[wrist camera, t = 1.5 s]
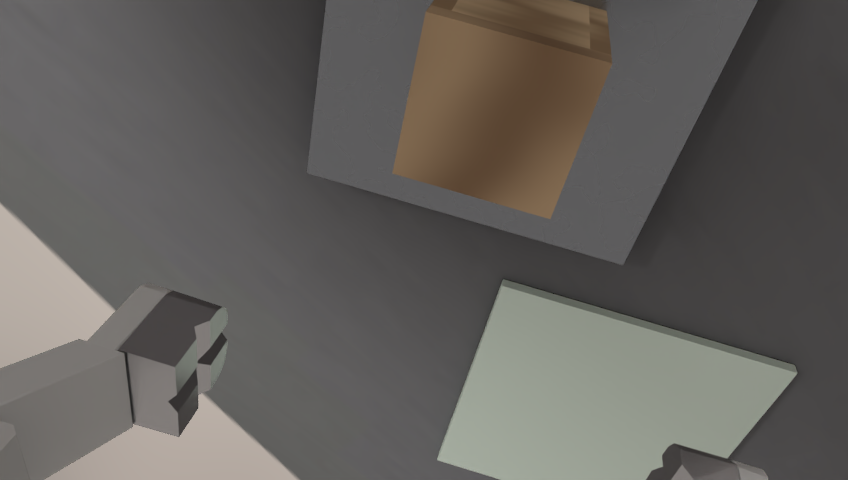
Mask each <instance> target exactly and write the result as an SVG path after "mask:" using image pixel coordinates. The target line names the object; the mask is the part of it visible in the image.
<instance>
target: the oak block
mask: <svg viewBox="0 0 848 480" xmlns="http://www.w3.org/2000/svg"><path fill="white" fill-rule="evenodd" d="M611 66H612V55H611V46H610V36H609V27H608V17H607V11H605V10H602V9H598V8H595V7H591V6H587V5H584V4H580V3H576V2H573V1H569V0H434V1H433V2H432V4H431V5H430V6H429V8H428V9H427V10H426V13H425V18H424V22H423V27H422V32H421V37H420V42H419V47H418V51H417V56H416V61H415V66H414V71H413V76H412V80H411V85H410V90H409V95H408V100H407V105H406V110H405V114H404V119H403V124H402V129H401V134H400V139H399V143H398V148H397V153H396V158H395V163H394V168H393V172H392V173H393V174H396V175H400V176H403V177H406V178H410V179H413V180H417V181H420V182H424V183H427V184H431V185H434V186H438V187H441V188H444V189H448V190H451V191H455V192H458V193H462V194H465V195H469V196H472V197H475V198H479V199H482V200H486V201H489V202H493V203H496V204H500V205H503V206H506V207H510V208H513V209H517V210H520V211H524V212H527V213H531V214H534V215H537V216H541V217H544V218H548V219H551V216H552V214H553V211H554V209H555V206H556V204H557V201H558V199H559V196H560V194H561V191H562V189H563V186H564V184H565V181H566V179H567V176H568V173H569V171H570V168H571V166H572V163H573V161H574V158H575V156H576V153H577V151H578V148H579V146H580V143H581V141H582V138H583V136H584V133H585V131H586V128H587V126H588V123H589V121H590V118H591V116H592V113H593V111H594V108H595V106H596V103H597V101H598V98H599V96H600V93H601V91H602V88H603V86H604V83H605V81H606V78H607V76H608V73H609V71H610V68H611Z"/></svg>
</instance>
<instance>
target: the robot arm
mask: <svg viewBox="0 0 848 480" xmlns="http://www.w3.org/2000/svg"><path fill="white" fill-rule="evenodd" d="M227 323H228V320H227V309H225V308H224V307H222V306H218V305H215V304H212V303H209V302H206V301H203V300H200V299H197V298H194V297H191V296H188V295H185V294H182V293H179V292H176V291H172V290H169V289H166V288H163V287H160V286H157V285H154V284H151V283H146V284H143V285H141V286H139V287H138V288H137V289H136V290H135V291H134V292H133V293H132V294H131V295H130V296H129V298H128V299H127V300H126V301H125V302H124V303H123V304H122V305H121V306H120V307H119V308H118V309H117V310H116V311H115V312H114V313H113V314H112V316H111V317H110V318H109V319H108V320H107V321H106V322H105V323H104V324H103V325H102V326H101V327H100V328H99V329H98V330H97V331H96V332H95V333H94V335H93V336H92V337H91V338H90V339H89V340H88V341H84V340H80V339H78V340H75V341H73V342H70V343H67V344H65V345H62V346H59V347H57V348H54V349H51V350H49V351H46V352H43V353H40V354H38V355H35V356H32V357H30V358H27V359H24V360H22V361H19V362H16V363H14V364H11V365H8V366H6V367H3V368H0V480H44V479H46V478H47V477H49V476H51V475H53V474H54V473H56V472H58V471H59V470H61V469H63V468H64V467H66V466H68V465H69V464H71V463H73V462H75V461H76V460H78V459H80V458H81V457H83V456H85V455H86V454H88V453H90V452H91V451H93V450H95V449H96V448H98V447H100V446H101V445H103V444H104V443H106V442H108V441H110V440H111V439H113V438H115V437H116V436H118V435H120V434H122V433H123V432H125V431H127V430H128V429H130V428H132V427H133V424H135V425H139V426H142V427H146V428H150V429H153V430H156V431H160V432H163V433H167V434H170V435H174V436H177V437H179V436H180V435H181V433H182V432H183V430H184V429H185V427H186V425H187V424H188V423H189V421H190V420H191V418H192V417H193V415H194V414H195V412H196V411H197V409H198V395H199V394H201V393H204V392H206V391H208V390H210V389H211V388H212V386H213V384H214V383H215V381H216V380H217V378H218V376H219V374H220V372H221V369H222V367H223V364H224V362H225V357H226V353H227V339H226V338H225V336H224V335H223V334H222V330H223V329H224V327H225V326H226V325H227ZM662 461H663V467H660V468H657V469H655V470H652V471H651V472H650V474H649V476H648V477H647V479H646V480H768V476H767V475H766V473H765V472H764V471H763V469H760V468H756V467H753V466H750V465H746V464H743V463H740V462H736V461H731V460H729V459H727V458H723V457H720V456H716V455H713V454H710V453H706V452H703V451H699V450H696V449H692V448H689V447H686V446H682V445H679V444H675V443H674V444H672V445H670V446H668V448H667V449H666V450H665V452H664V453H663V455H662Z"/></svg>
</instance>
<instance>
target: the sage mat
mask: <svg viewBox="0 0 848 480" xmlns="http://www.w3.org/2000/svg"><path fill="white" fill-rule="evenodd" d="M797 374H798V373H797V370H796V367H795V365H793V364H789V363H786V362H782V361H779V360H776V359H772V358H769V357H766V356H762V355H759V354H755V353H752V352H749V351H745V350H742V349H738V348H735V347H732V346H728V345H725V344H722V343H718V342H715V341H711V340H708V339H705V338H701V337H698V336H694V335H691V334H688V333H684V332H681V331H678V330H674V329H671V328H667V327H664V326H661V325H657V324H654V323H650V322H647V321H644V320H640V319H637V318H634V317H630V316H627V315H623V314H620V313H617V312H613V311H610V310H606V309H603V308H600V307H596V306H593V305H590V304H586V303H583V302H579V301H576V300H573V299H569V298H566V297H562V296H559V295H556V294H552V293H549V292H546V291H542V290H539V289H535V288H532V287H529V286H525V285H522V284H518V283H515V282H512V281H508V280H505V279H503V280H502V283H501V286H500V288H499V291H498V294H497V297H496V299H495V302H494V305H493V307H492V310H491V313H490V316H489V318H488V321H487V324H486V326H485V329H484V332H483V334H482V337H481V340H480V343H479V345H478V348H477V351H476V353H475V356H474V359H473V362H472V364H471V367H470V370H469V372H468V375H467V378H466V381H465V383H464V386H463V389H462V391H461V394H460V397H459V399H458V402H457V405H456V408H455V410H454V413H453V416H452V418H451V421H450V424H449V427H448V429H447V432H446V435H445V437H444V440H443V443H442V445H441V448H440V451H439V454H438V459H437V460H439V461H442V462H445V463H448V464H452V465H455V466H458V467H461V468H465V469H468V470H471V471H474V472H478V473H481V474H484V475H487V476H490V477H494V478H497V479H500V480H646V479H647V477H648V476H649V474H650V472H651V471H652V470H655V469H657V468H660V467H663V461H662V455H663V453H664V452H665V450H666V449H667V448H668V446H670V445H672V444H674V443H675V444H679V445H682V446H686V447H689V448H692V449H696V450H699V451H703V452H706V453H710V454H713V455H716V456H720V457H723V458H728V457H729V456H730V454H731V453H732V452H733V451H734V450H735V448H736V447H737V446H738V445H739V444H740V442H741V441H742V440H743V439H744V438H745V436H746V435H747V434H748V433H749V432H750V430H751V429H752V428H753V427H754V425H755V424H756V423H757V422H758V421H759V419H760V418H761V417H762V416H763V415H764V413H765V412H766V411H767V410H768V409H769V407H770V406H771V405H772V404H773V403H774V401H775V400H776V399H777V398H778V396H779V395H780V394H781V393H782V392H783V390H784V389H785V388H786V387H787V386H788V384H789V383H790V382H791V381H792V380H793V378H794V377H795V376H796V375H797Z"/></svg>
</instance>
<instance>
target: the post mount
mask: <svg viewBox="0 0 848 480" xmlns="http://www.w3.org/2000/svg"><path fill="white" fill-rule="evenodd" d="M433 1H434V0H326V7H325V16H324V25H323V34H322V43H321V51H320V60H319V69H318V78H317V87H316V95H315V104H314V113H313V122H312V131H311V140H310V148H309V157H308V166H307V173H308V174H312V175H315V176H319V177H322V178H325V179H329V180H332V181H336V182H339V183H343V184H346V185H349V186H353V187H356V188H360V189H363V190H366V191H370V192H373V193H377V194H380V195H384V196H387V197H390V198H394V199H397V200H401V201H404V202H408V203H411V204H414V205H418V206H421V207H425V208H428V209H432V210H435V211H438V212H442V213H445V214H449V215H452V216H456V217H459V218H462V219H466V220H469V221H473V222H476V223H479V224H483V225H486V226H490V227H493V228H497V229H500V230H503V231H507V232H510V233H514V234H517V235H521V236H524V237H527V238H531V239H534V240H538V241H541V242H545V243H548V244H551V245H555V246H558V247H562V248H565V249H569V250H572V251H575V252H579V253H582V254H586V255H589V256H592V257H596V258H599V259H603V260H606V261H610V262H613V263H616V264H620V265H623V264H624V262H625V260H626V259H627V257H628V255H629V253H630V251H631V249H632V247H633V245H634V243H635V241H636V239H637V237H638V235H639V233H640V231H641V229H642V227H643V225H644V223H645V221H646V219H647V217H648V215H649V213H650V211H651V209H652V207H653V205H654V203H655V202H656V200H657V198H658V196H659V194H660V192H661V190H662V188H663V186H664V184H665V182H666V180H667V178H668V176H669V174H670V172H671V170H672V168H673V166H674V164H675V162H676V160H677V158H678V156H679V154H680V152H681V150H682V148H683V146H684V144H685V143H686V141H687V139H688V137H689V135H690V133H691V131H692V129H693V127H694V125H695V123H696V121H697V119H698V117H699V115H700V113H701V111H702V109H703V107H704V105H705V103H706V101H707V99H708V97H709V95H710V93H711V91H712V89H713V87H714V85H715V84H716V82H717V80H718V78H719V76H720V74H721V72H722V70H723V68H724V66H725V64H726V62H727V60H728V58H729V56H730V54H731V52H732V50H733V48H734V46H735V44H736V42H737V40H738V38H739V36H740V34H741V32H742V30H743V28H744V26H745V25H746V23H747V21H748V19H749V17H750V15H751V13H752V11H753V9H754V7H755V5H756V3H757V1H758V0H569V1H573V2H576V3H580V4H584V5H587V6H591V7H595V8H598V9H602V10H605V11H607V17H608V27H609V36H610V46H611V55H612V66H611V68H610V71H609V73H608V76H607V78H606V81H605V83H604V86H603V88H602V91H601V93H600V96H599V98H598V101H597V103H596V106H595V108H594V111H593V113H592V116H591V118H590V121H589V123H588V126H587V128H586V131H585V133H584V136H583V138H582V141H581V143H580V146H579V148H578V151H577V153H576V156H575V158H574V161H573V163H572V166H571V168H570V171H569V173H568V176H567V179H566V181H565V184H564V186H563V189H562V191H561V194H560V196H559V199H558V201H557V204H556V206H555V209H554V211H553V214H552V216H551V219H548V218H544V217H541V216H537V215H534V214H531V213H527V212H524V211H520V210H517V209H513V208H510V207H506V206H503V205H500V204H496V203H493V202H489V201H486V200H482V199H479V198H475V197H472V196H469V195H465V194H462V193H458V192H455V191H451V190H448V189H444V188H441V187H438V186H434V185H431V184H427V183H424V182H420V181H417V180H413V179H410V178H406V177H403V176H400V175H396V174H393V173H392V172H393V168H394V163H395V158H396V153H397V148H398V143H399V139H400V134H401V129H402V124H403V119H404V114H405V110H406V105H407V100H408V95H409V90H410V85H411V80H412V76H413V71H414V66H415V61H416V56H417V51H418V47H419V42H420V37H421V32H422V27H423V22H424V18H425V13H426V10H427V9H428V8H429V6H430V5H431V4H432V2H433Z"/></svg>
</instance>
